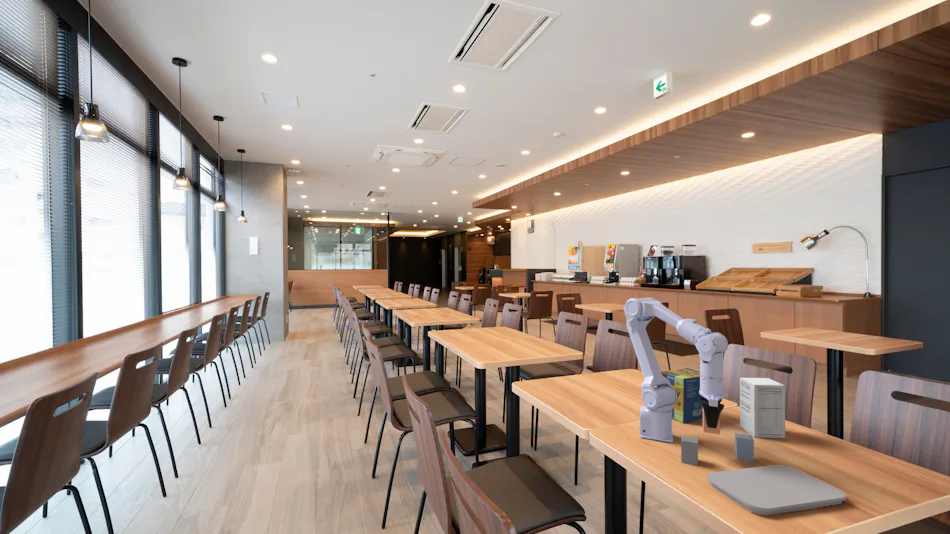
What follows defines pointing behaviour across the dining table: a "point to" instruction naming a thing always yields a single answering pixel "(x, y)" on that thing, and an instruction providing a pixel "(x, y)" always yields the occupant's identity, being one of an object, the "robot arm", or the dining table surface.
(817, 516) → the dining table surface
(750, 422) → the supplement box
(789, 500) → the tablet
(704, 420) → the terracotta block
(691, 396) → the protein box
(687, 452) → the gray block
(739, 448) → the slate-blue block
